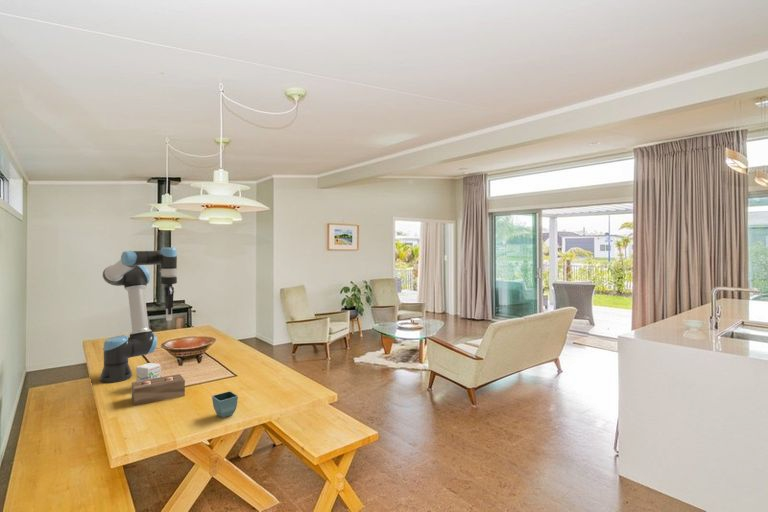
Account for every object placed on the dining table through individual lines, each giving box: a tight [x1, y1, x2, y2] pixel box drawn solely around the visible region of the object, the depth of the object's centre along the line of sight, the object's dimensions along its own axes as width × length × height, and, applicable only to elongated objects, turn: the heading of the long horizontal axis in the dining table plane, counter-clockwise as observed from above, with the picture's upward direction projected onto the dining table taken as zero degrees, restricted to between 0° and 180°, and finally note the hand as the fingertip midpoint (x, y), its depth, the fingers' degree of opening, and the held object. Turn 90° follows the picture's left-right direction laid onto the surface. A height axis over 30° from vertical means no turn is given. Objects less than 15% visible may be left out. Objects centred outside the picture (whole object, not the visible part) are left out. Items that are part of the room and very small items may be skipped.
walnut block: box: [131, 373, 186, 407], centre depth 206 cm, size 12×22×8 cm, turn 127°
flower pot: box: [211, 390, 239, 419], centre depth 186 cm, size 9×9×9 cm
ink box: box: [135, 362, 162, 382], centre depth 220 cm, size 8×8×12 cm
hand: (169, 320), depth 219 cm, fingers closed
